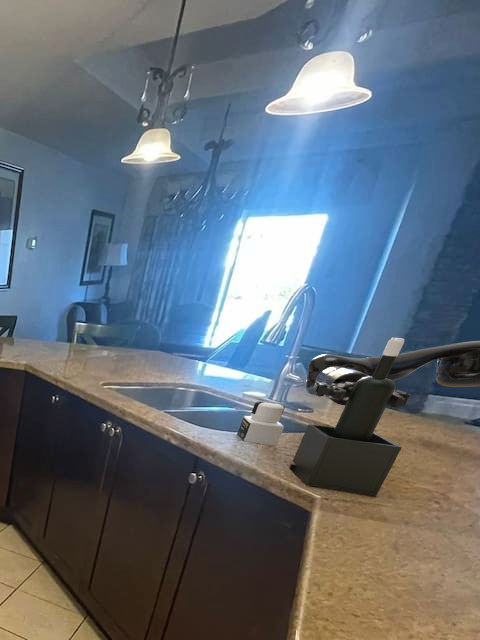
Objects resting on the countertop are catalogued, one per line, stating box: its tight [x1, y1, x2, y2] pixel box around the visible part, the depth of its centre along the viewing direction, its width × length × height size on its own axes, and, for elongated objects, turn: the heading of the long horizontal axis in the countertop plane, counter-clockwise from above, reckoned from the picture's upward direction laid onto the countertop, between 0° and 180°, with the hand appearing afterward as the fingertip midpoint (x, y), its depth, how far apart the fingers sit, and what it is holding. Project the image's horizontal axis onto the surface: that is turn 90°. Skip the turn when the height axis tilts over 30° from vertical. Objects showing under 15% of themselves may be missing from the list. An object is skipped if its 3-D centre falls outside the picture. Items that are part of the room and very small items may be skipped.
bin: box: [288, 423, 403, 498], centre depth 106 cm, size 11×11×11 cm
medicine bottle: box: [236, 400, 286, 447], centre depth 128 cm, size 7×7×12 cm
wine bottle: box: [331, 337, 405, 442], centre depth 102 cm, size 6×6×30 cm
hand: (370, 399), depth 101 cm, fingers open, 8 cm apart
